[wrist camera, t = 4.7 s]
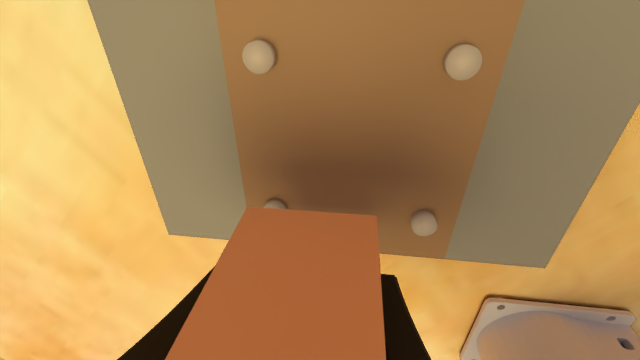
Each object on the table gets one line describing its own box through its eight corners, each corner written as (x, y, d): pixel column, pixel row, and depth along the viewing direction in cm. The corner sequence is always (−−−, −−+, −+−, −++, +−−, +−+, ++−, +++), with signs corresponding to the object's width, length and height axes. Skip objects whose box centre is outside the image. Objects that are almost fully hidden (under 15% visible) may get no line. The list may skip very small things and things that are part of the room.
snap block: (376, 215, 10) (395, 507, 4) (366, 300, 12) (369, 561, 7) (247, 206, 11) (111, 459, 5) (261, 290, 13) (180, 526, 7)
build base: (712, -74, 10) (828, -95, 8) (536, 255, 19) (564, 298, 16) (83, -63, 13) (12, -78, 10) (176, 224, 21) (150, 257, 19)
